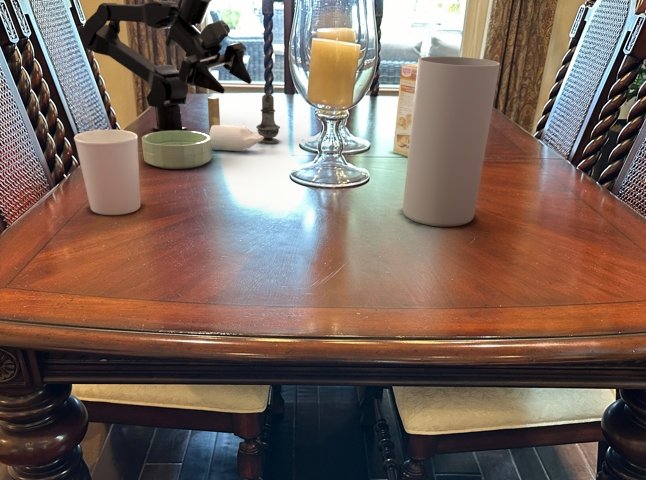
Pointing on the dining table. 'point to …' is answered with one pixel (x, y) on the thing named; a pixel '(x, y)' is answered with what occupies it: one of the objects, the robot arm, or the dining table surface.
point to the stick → (213, 111)
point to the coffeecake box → (405, 109)
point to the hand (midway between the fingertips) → (237, 87)
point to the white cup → (110, 170)
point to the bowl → (176, 149)
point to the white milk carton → (232, 138)
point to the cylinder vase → (448, 138)
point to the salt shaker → (268, 121)
